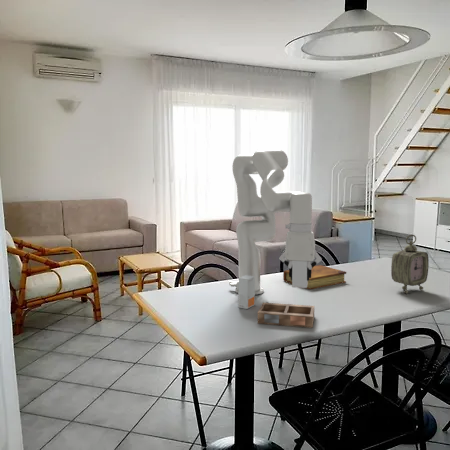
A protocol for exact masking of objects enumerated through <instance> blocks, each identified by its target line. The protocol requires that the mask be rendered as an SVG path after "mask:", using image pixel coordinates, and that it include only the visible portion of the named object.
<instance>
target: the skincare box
mask: <svg viewBox="0 0 450 450" xmlns="http://www.w3.org/2000/svg"><path fill="white" fill-rule="evenodd" d="M238 281H239V294H238V308H239V309H244V310H248V309H250V308H252V307H255V300H256V299H255V296H256V295H255V276H249V275H245V276H242V277H240V278H239V277H238Z"/></svg>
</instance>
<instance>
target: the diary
mask: <svg viewBox="0 0 450 450" xmlns="http://www.w3.org/2000/svg"><path fill="white" fill-rule="evenodd" d="M345 275H347V271H345V270H341V269H336V268H334V267H329V266H325V265H322V264H321V265H320V264H316V265H315V266H314V267H313V268H312V269H311V278H309V281H308V285H307V288H305V289H307V290H314V289H321V288H326V287H330V286H335V285H340V284H345V283H347V281H346V280H345ZM282 276H283V278H282V279H283V281H284V282H286V283H289V284H292V280H291V277H289V269H287V270H284V271H283V275H282Z"/></svg>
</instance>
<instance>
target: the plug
mask: <svg viewBox="0 0 450 450" xmlns="http://www.w3.org/2000/svg"><path fill="white" fill-rule="evenodd" d="M307 269H308V265H307V261H292V283H291V284H292V285H291V287H292V288H303V289H306V288H307V285H308V281H307Z"/></svg>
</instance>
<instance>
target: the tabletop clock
mask: <svg viewBox="0 0 450 450" xmlns="http://www.w3.org/2000/svg"><path fill="white" fill-rule="evenodd" d="M410 237H414V241H412V240H410V241H409V242H408V239H409V238H410ZM416 242H417V236H416V235H415V234H409V235H407V236H406V237H405V243H406V244H407V245H406V246H405V247H404V249H402V250H399V251H397V252H394V253H393V254H392V258H391V270H390V271H391V279H392V280H393V282H395V283H398V284H403V286H402V287H401V288H402V290H404V291H403V292H404V294H406V295H407V294H408V293H409V291H408V290H407V289H408V286H410V287H417V286H419V288H418V290H420V291H422V290H423V289H424V287H423V286H421V285H422V284H423V285H424V283H425V282H427V280H428V276H429V267H430V264H429V262H430V261H429V253H428V252H426V251H425V252H424V251H420V250H418V248H417V246H416V245H414V244H415V243H416Z"/></svg>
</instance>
